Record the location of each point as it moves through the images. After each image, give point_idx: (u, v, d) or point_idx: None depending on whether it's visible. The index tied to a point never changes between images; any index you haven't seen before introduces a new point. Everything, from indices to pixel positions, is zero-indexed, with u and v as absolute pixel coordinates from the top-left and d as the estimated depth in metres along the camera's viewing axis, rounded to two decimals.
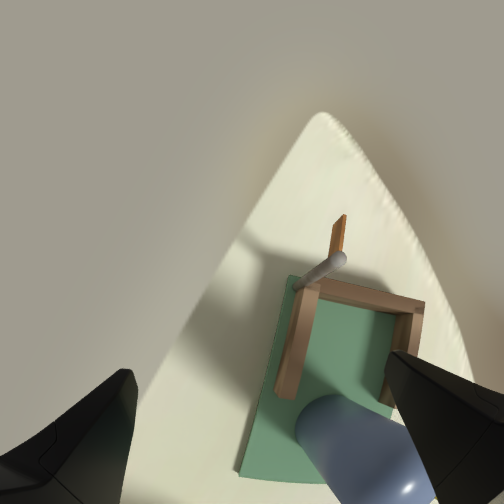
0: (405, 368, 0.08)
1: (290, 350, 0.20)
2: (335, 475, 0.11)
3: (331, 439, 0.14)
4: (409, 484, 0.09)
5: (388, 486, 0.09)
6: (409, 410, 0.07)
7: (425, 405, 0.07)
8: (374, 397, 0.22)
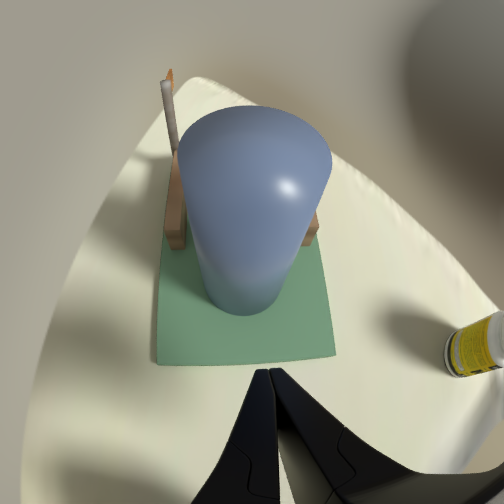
0: None
1: None
2: None
3: None
4: (257, 142, 0.11)
5: (220, 140, 0.11)
6: (279, 439, 0.07)
7: (287, 439, 0.06)
8: None
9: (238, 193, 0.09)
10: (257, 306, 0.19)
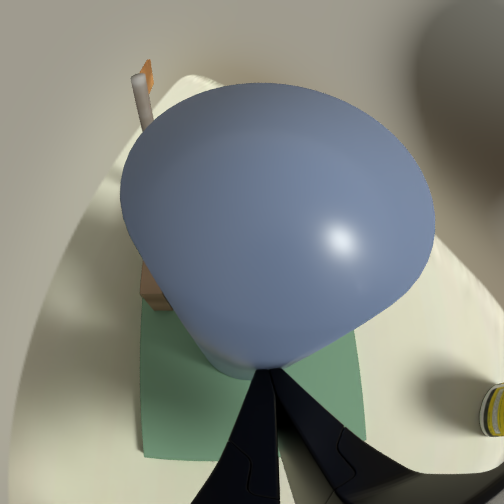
0: None
1: None
2: None
3: None
4: (291, 150, 0.05)
5: (213, 145, 0.05)
6: (279, 439, 0.07)
7: (287, 439, 0.06)
8: None
9: (258, 283, 0.04)
10: None
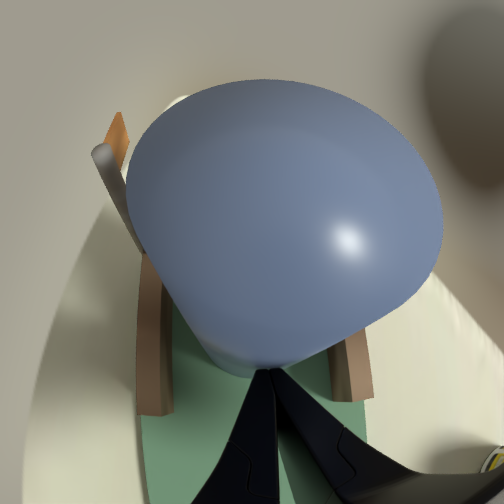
0: None
1: None
2: None
3: None
4: (300, 147, 0.05)
5: (220, 142, 0.05)
6: (279, 439, 0.07)
7: (287, 439, 0.06)
8: (323, 395, 0.15)
9: (269, 283, 0.04)
10: None
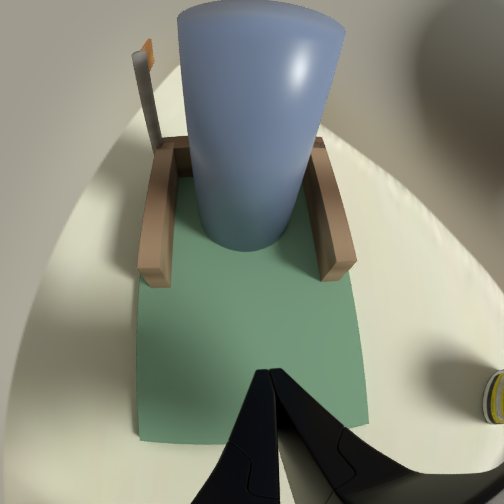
0: None
1: None
2: None
3: None
4: (263, 12, 0.08)
5: (224, 10, 0.07)
6: (279, 439, 0.07)
7: (287, 439, 0.06)
8: (311, 275, 0.17)
9: (243, 31, 0.06)
10: (261, 234, 0.16)
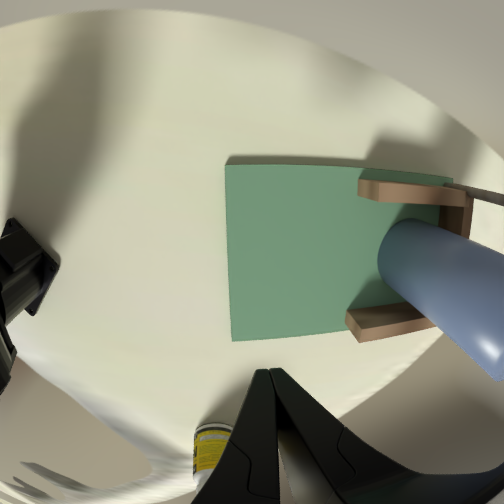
0: None
1: (421, 186, 0.16)
2: None
3: None
4: None
5: None
6: (279, 439, 0.07)
7: (287, 439, 0.06)
8: (352, 303, 0.22)
9: None
10: (390, 274, 0.19)
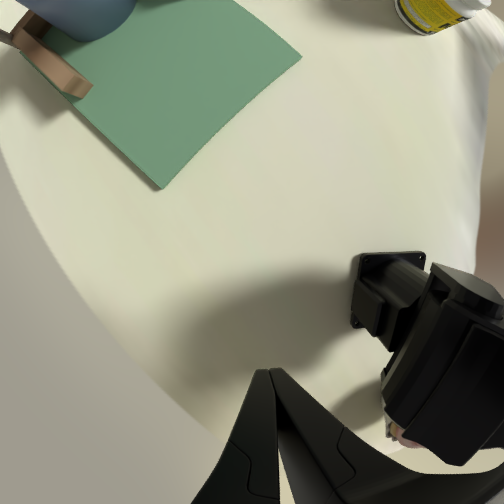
0: None
1: None
2: None
3: None
4: None
5: None
6: (279, 439, 0.07)
7: (287, 439, 0.06)
8: (178, 0, 0.13)
9: None
10: (119, 5, 0.11)
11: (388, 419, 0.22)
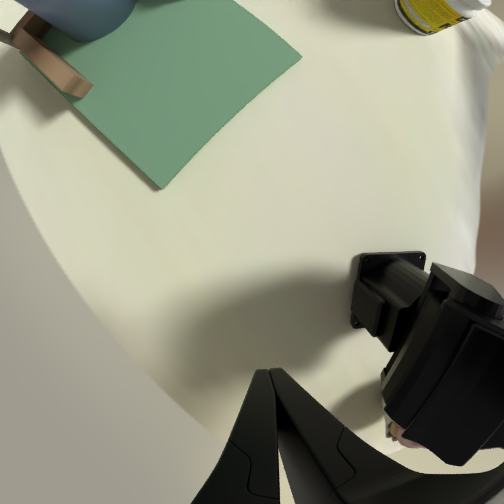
0: None
1: None
2: None
3: None
4: None
5: None
6: (279, 439, 0.07)
7: (287, 439, 0.06)
8: (178, 0, 0.13)
9: None
10: (119, 6, 0.11)
11: (388, 419, 0.22)
